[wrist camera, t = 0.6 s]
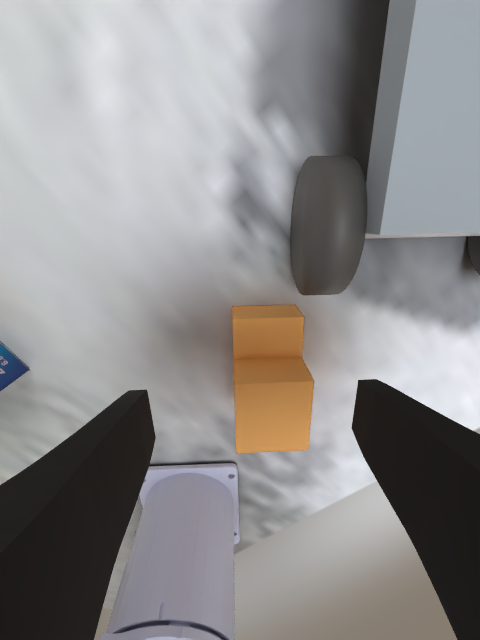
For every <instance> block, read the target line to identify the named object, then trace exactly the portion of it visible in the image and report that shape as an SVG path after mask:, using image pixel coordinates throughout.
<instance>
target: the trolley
mask: <svg viewBox="0 0 480 640" xmlns="http://www.w3.org/2000/svg"><path fill="white" fill-rule="evenodd" d="M451 236H468V252H469V256H470V259H471V262H472V264H473V266H474V268H475V270H476V271H477V272H478V273H479V275H480V0H390V2H389V10H388V18H387V25H386V33H385V41H384V48H383V56H382V64H381V71H380V79H379V87H378V95H377V102H376V110H375V118H374V125H373V133H372V141H371V148H370V156H369V164H368V171H367V179H366V184H365V178H364V175H363V171H362V169H361V166H360V164H359V163H358V161H357V160H356V159H355V158H354V157H352V156H311V157H309V158H308V159H307V160H306V161H305V163H304V164H303V167H302V169H301V171H300V174H299V177H298V181H297V185H296V189H295V194H294V200H293V208H292V217H291V237H290V244H291V263H292V271H293V276H294V280H295V284H296V287H297V289H298V291H299V292H300V293H301V294H302V295H329V294H339V293H341V292H342V291H344V290H345V289H346V287H347V286H348V285H349V283H350V282H351V280H352V278H353V276H354V274H355V272H356V270H357V267H358V264H359V261H360V258H361V254H362V250H363V246H364V240H365V238H408V237H451Z"/></svg>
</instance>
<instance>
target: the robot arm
mask: <svg viewBox="0 0 480 640" xmlns="http://www.w3.org/2000/svg"><path fill="white" fill-rule="evenodd" d="M352 430H353V432H354V435H355V437H356V440H357V442H358V445H359V447H360V449H361V452H362V454H363V456H364V458H365V460H366V462H367V464H368V465H369V467H370V469H371V471H372V472H373V474H374V476H375V478H376V480H377V481H378V483H379V485H380V486H381V488H382V490H383V492H384V493H385V495H386V497H387V499H388V500H389V502H390V504H391V505H392V507H393V509H394V511H395V512H396V514H397V516H398V518H399V519H400V521H401V523H402V525H403V526H404V528H405V530H406V532H407V533H408V535H409V537H410V539H411V541H412V543H413V545H414V547H415V549H416V550H417V552H418V555H419V557H420V559H421V561H422V563H423V565H424V567H425V570H426V571H427V573H428V576H429V578H430V580H431V582H432V584H433V586H434V589H435V591H436V593H437V595H438V597H439V599H440V602H441V604H442V606H443V608H444V610H445V613H446V615H447V617H448V619H449V622H450V624H451V626H452V628H453V631H454V633H455V635H456V637H457V640H480V434H478V433H476V432H474V431H472V430H470V429H468V428H466V427H464V426H462V425H460V424H458V423H457V422H455V421H453V420H451V419H449V418H447V417H445V416H443V415H442V414H440V413H438V412H436V411H434V410H432V409H431V408H429V407H427V406H425V405H423V404H422V403H420V402H418V401H416V400H414V399H413V398H411V397H409V396H407V395H405V394H404V393H402V392H400V391H398V390H396V389H395V388H393V387H391V386H389V385H387V384H385V383H383V382H381V381H379V380H377V379H371V380H358V387H357V394H356V401H355V408H354V415H353V423H352ZM155 438H156V437H155V432H154V426H153V420H152V415H151V409H150V404H149V398H148V392H147V390H131V391H128V392H126V393H125V394H123V395H122V396H121V397H120V398H118V399H117V400H116V401H114V402H113V403H112V404H111V405H109V406H108V407H107V408H106V409H105V410H103V411H102V412H101V413H100V414H98V415H97V416H96V417H95V418H93V419H92V420H91V421H89V422H88V423H87V424H86V425H84V426H83V427H82V428H81V429H79V430H78V431H77V432H76V433H74V434H73V435H72V436H70V437H69V438H67V439H66V440H65V441H63V442H62V443H61V444H59V445H58V446H57V447H55V448H54V449H53V450H51V451H50V452H48V453H47V454H46V455H44V456H43V457H42V458H40V459H39V460H37V461H36V462H35V463H33V464H32V465H30V466H29V467H27V468H26V469H24V470H23V471H21V472H20V473H18V474H17V475H15V476H14V477H12V478H11V479H9V480H8V481H6V482H5V483H3V484H1V485H0V640H94V637H95V633H96V629H97V625H98V621H99V618H100V614H101V610H102V607H103V603H104V599H105V596H106V592H107V589H108V585H109V581H110V578H111V574H112V570H113V567H114V564H115V561H116V558H117V555H118V552H119V549H120V546H121V543H122V540H123V537H124V535H125V532H126V529H127V526H128V524H129V521H130V518H131V515H132V513H133V510H134V507H135V504H136V502H137V499H138V496H139V495H140V499H141V504H142V509H143V512H142V515H141V518H140V521H139V525H138V528H137V531H136V535H135V538H134V541H133V544H132V548H131V551H130V554H129V558H128V561H127V564H126V567H125V571H124V574H123V577H122V581H121V584H120V587H119V590H118V594H117V597H116V600H115V603H114V607H113V610H112V614H111V617H110V620H109V623H108V626H107V630H106V633H104V634H102V635H101V636H100V639H99V640H235V625H234V624H235V622H234V621H235V615H234V545H235V544H238V543H239V541H240V535H239V504H238V472H237V466H236V465H235V464H233V463H223V464H199V465H174V466H150V467H149V464H150V460H151V456H152V452H153V447H154V443H155Z"/></svg>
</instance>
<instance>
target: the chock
mask: <svg viewBox="0 0 480 640" xmlns="http://www.w3.org/2000/svg"><path fill="white" fill-rule="evenodd" d="M304 318H305V317H304V316H303V314H302V313H301V312H300V310H299V309H298V308H297V306H296V305H295V304H293V305H257V306H232V323H233V354H234V396H235V427H236V453H251V452H275V451H300V450H308V445H309V433H310V422H311V411H312V400H313V389H314V380H313V378H312V376H311V374H310V372H309V370H308V368H307V366H306V364H305V362H304V360H303V358H302V348H303V333H304Z"/></svg>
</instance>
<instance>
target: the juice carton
mask: <svg viewBox="0 0 480 640" xmlns="http://www.w3.org/2000/svg"><path fill="white" fill-rule="evenodd" d="M28 370H30V369H29V368H28V367H27V366H26V365H25V364H24V363H23V362H22V361H21V360H19V359H18V358H17V357H16V356H15V355H14V354H13V353H12V352H11V351H10V350H9V349H8V348H7V347H6V346H4V345H3V344H2V343H1V342H0V391H1V390H3V389H4V388H5V387H7V386H8V385H9V384H11V383H12V382H13V381H15V380H16V379H18V378H19V377H20V376H22V375H23V374H24V373H26V372H27V371H28Z"/></svg>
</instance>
